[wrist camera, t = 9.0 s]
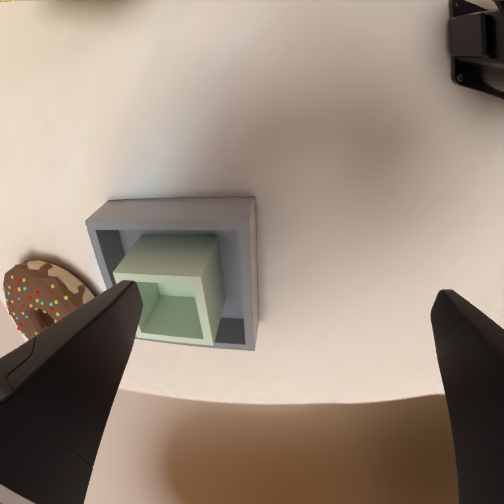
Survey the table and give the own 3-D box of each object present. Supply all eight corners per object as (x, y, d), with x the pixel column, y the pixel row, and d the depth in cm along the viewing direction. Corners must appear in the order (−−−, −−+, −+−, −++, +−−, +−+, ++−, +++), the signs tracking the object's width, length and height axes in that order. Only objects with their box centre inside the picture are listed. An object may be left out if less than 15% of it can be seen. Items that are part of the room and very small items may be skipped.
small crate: (217, 234, 22) (200, 277, 18) (225, 299, 25) (213, 345, 21) (141, 234, 23) (112, 272, 18) (157, 295, 26) (136, 337, 22)
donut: (99, 256, 25) (71, 291, 21) (129, 354, 33) (113, 388, 29) (4, 243, 26) (-23, 268, 22) (41, 330, 34) (23, 356, 30)
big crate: (255, 197, 21) (249, 220, 18) (258, 320, 27) (254, 350, 24) (108, 200, 22) (85, 220, 19) (139, 311, 28) (126, 337, 25)
